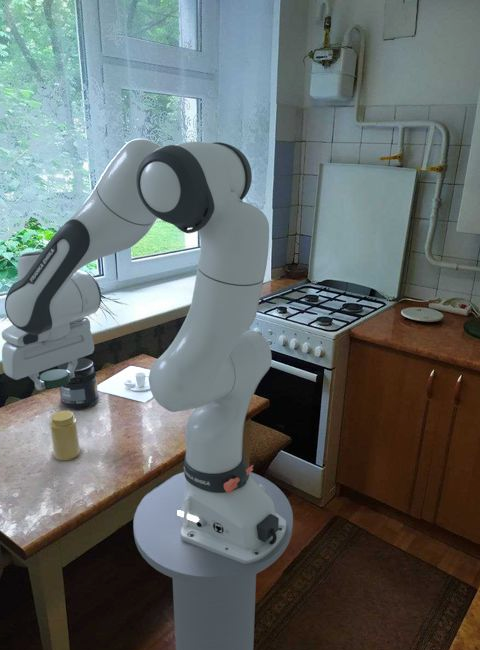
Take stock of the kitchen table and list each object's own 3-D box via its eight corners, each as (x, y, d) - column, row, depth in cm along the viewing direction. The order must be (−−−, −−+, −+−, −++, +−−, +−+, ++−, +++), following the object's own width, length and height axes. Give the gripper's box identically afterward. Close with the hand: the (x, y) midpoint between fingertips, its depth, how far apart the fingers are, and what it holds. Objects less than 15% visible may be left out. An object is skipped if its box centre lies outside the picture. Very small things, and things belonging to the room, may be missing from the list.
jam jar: (84, 452, 121) (80, 414, 117) (63, 463, 117) (58, 424, 113) (70, 444, 124) (65, 407, 120) (49, 454, 120) (43, 416, 116)
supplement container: (99, 392, 151) (96, 355, 146) (98, 408, 142) (94, 370, 137) (62, 395, 148) (58, 358, 144) (59, 412, 139) (53, 373, 134)
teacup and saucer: (120, 388, 154) (119, 376, 152) (135, 378, 160) (135, 367, 159) (143, 394, 151) (143, 382, 149) (158, 383, 157) (158, 372, 156)
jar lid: (38, 380, 112) (36, 373, 112) (66, 374, 116) (64, 366, 115) (44, 391, 108) (42, 383, 107) (73, 383, 111) (71, 376, 110)
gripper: (80, 311, 116) (86, 365, 121) (-7, 334, 100) (4, 394, 106) (97, 317, 113) (102, 372, 118) (10, 341, 97) (20, 403, 102)
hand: (55, 383), depth 112 cm, fingers closed on jar lid, 6 cm apart
